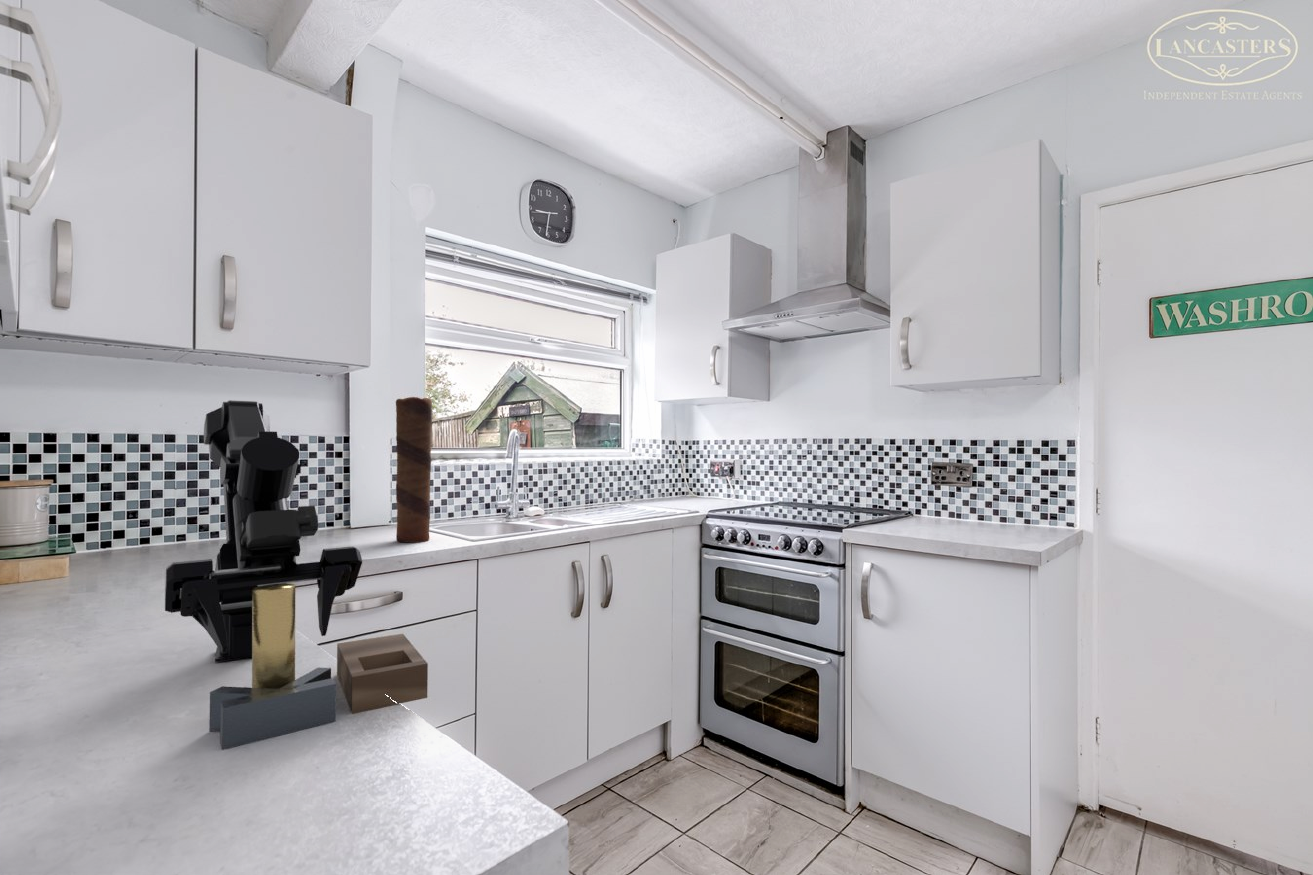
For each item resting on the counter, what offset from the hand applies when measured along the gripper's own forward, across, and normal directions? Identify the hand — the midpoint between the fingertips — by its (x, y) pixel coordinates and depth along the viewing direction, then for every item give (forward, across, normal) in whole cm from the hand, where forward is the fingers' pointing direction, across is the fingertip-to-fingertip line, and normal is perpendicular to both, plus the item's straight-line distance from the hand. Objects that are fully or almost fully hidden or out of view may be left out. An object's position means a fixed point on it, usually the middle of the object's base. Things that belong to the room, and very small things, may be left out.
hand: (276, 641), depth 67 cm
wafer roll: (-80, +54, +93) cm, 134 cm away
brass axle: (+5, 0, +7) cm, 9 cm away
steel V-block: (+6, 0, +6) cm, 9 cm away
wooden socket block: (+3, +12, +9) cm, 15 cm away
